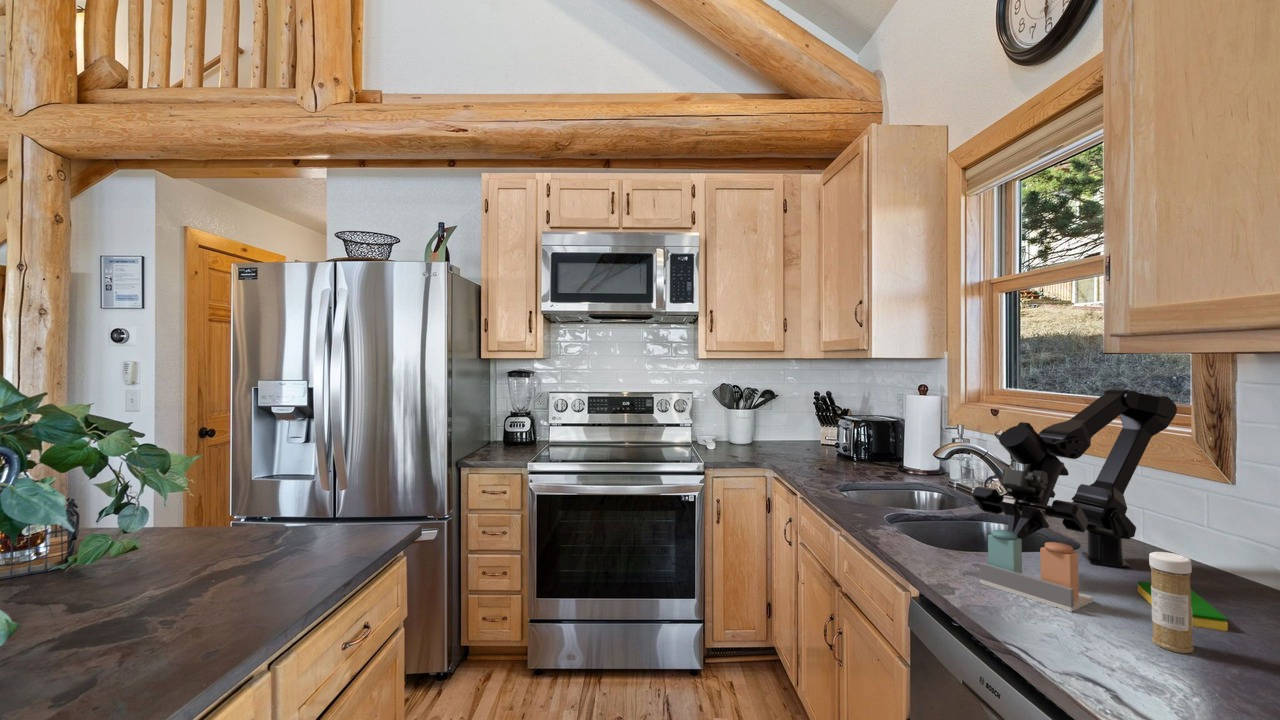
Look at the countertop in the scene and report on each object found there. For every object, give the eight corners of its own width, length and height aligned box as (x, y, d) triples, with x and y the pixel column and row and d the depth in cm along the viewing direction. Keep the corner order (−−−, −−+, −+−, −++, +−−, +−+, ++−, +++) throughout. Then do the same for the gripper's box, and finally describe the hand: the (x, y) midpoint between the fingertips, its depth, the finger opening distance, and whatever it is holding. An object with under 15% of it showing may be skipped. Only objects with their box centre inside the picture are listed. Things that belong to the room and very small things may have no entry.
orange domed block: (1050, 588, 101) (1049, 540, 101) (1080, 597, 97) (1078, 547, 97) (1039, 593, 99) (1038, 544, 99) (1069, 602, 95) (1068, 551, 95)
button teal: (998, 573, 109) (997, 528, 109) (1023, 580, 105) (1022, 534, 105) (987, 577, 107) (986, 531, 107) (1012, 585, 103) (1011, 537, 103)
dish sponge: (1169, 625, 90) (1168, 610, 90) (1137, 593, 102) (1137, 580, 102) (1228, 634, 87) (1228, 618, 87) (1188, 600, 99) (1188, 586, 99)
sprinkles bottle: (1197, 648, 82) (1195, 556, 82) (1188, 657, 79) (1186, 563, 79) (1156, 636, 85) (1154, 548, 86) (1146, 644, 83) (1144, 554, 83)
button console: (1002, 574, 111) (1002, 555, 111) (1093, 601, 98) (1092, 580, 98) (979, 583, 107) (979, 563, 107) (1071, 612, 94) (1070, 589, 94)
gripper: (975, 448, 118) (946, 507, 112) (1079, 460, 102) (1051, 530, 96) (996, 480, 122) (968, 539, 116) (1099, 497, 106) (1073, 566, 100)
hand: (1011, 542), depth 107 cm, fingers closed
